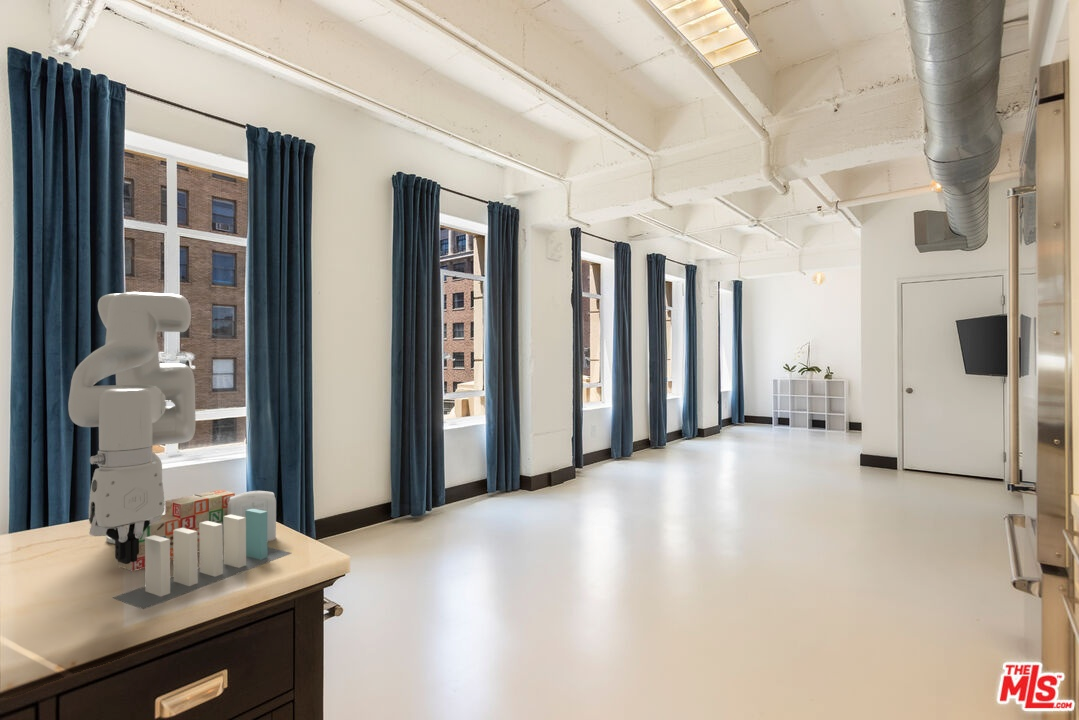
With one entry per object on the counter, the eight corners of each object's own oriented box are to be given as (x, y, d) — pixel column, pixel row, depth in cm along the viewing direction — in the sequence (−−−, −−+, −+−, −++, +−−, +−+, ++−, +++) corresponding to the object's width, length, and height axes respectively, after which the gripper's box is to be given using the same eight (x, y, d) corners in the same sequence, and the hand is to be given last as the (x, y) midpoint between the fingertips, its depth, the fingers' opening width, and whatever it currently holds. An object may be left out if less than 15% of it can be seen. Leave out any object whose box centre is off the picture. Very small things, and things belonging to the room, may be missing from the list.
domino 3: (199, 572, 110) (199, 522, 110) (207, 569, 112) (207, 520, 112) (215, 576, 108) (214, 526, 108) (222, 573, 109) (222, 524, 109)
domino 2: (173, 581, 106) (173, 529, 106) (182, 578, 107) (181, 527, 107) (189, 586, 104) (188, 533, 103) (197, 583, 105) (197, 531, 105)
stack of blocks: (132, 575, 111) (131, 514, 111) (117, 569, 114) (117, 510, 114) (236, 543, 129) (235, 491, 129) (221, 539, 132) (220, 488, 132)
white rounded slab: (274, 537, 133) (274, 486, 133) (277, 542, 130) (277, 490, 130) (226, 545, 128) (226, 492, 127) (227, 551, 124) (227, 496, 124)
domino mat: (112, 600, 99) (112, 597, 99) (262, 548, 126) (262, 545, 126) (143, 612, 94) (143, 609, 94) (292, 555, 121) (292, 552, 121)
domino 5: (245, 555, 119) (245, 510, 119) (252, 553, 121) (252, 508, 121) (260, 559, 117) (260, 513, 117) (267, 557, 118) (267, 511, 118)
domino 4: (223, 563, 115) (223, 516, 115) (230, 561, 116) (230, 514, 116) (238, 567, 112) (238, 519, 112) (246, 565, 114) (245, 517, 114)
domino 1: (145, 591, 101) (144, 537, 101) (154, 587, 103) (154, 535, 103) (160, 596, 99) (160, 541, 99) (170, 593, 101) (169, 539, 100)
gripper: (86, 467, 88) (87, 581, 88) (182, 453, 101) (183, 551, 101) (63, 463, 91) (64, 572, 92) (159, 449, 105) (160, 545, 105)
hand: (127, 561), depth 97 cm, fingers closed
